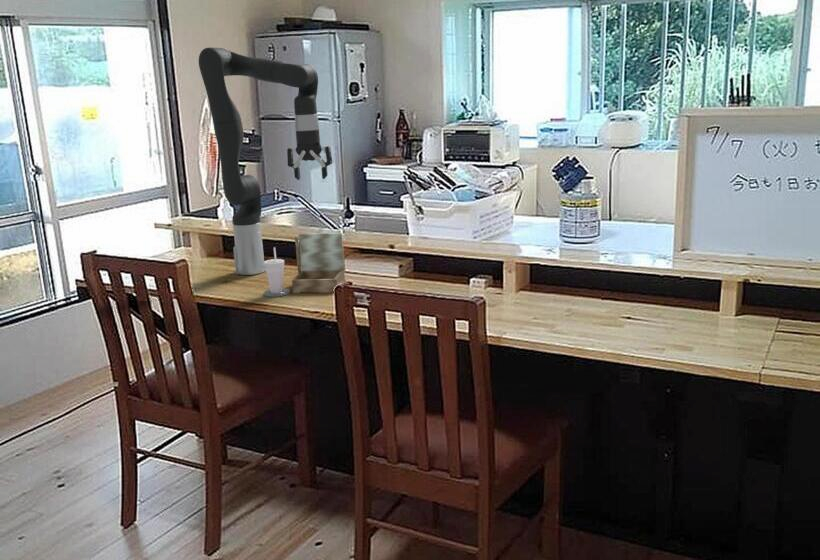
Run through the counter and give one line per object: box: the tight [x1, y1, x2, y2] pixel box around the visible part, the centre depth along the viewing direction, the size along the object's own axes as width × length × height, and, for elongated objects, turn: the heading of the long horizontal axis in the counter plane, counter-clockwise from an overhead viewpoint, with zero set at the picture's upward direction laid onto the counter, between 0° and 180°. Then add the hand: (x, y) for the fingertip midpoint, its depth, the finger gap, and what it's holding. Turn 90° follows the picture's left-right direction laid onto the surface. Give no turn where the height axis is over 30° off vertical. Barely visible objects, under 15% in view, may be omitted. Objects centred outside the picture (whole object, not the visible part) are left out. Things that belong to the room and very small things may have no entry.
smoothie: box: [264, 246, 285, 293], centre depth 249 cm, size 6×6×14 cm
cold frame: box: [291, 232, 346, 294], centre depth 254 cm, size 15×13×16 cm
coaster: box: [263, 287, 291, 298], centre depth 251 cm, size 8×8×1 cm
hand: (311, 179), depth 264 cm, fingers open, 8 cm apart
